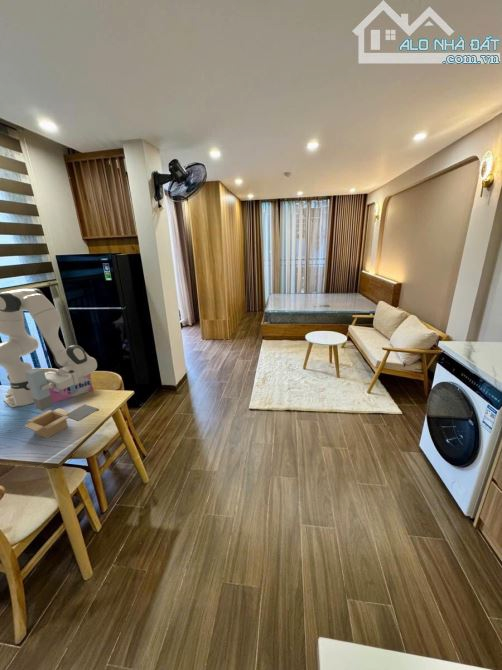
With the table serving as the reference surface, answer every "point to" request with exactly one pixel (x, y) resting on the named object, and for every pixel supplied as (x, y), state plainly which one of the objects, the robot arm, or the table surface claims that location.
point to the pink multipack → (72, 389)
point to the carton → (49, 422)
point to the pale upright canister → (39, 396)
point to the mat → (82, 412)
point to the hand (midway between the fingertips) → (36, 387)
